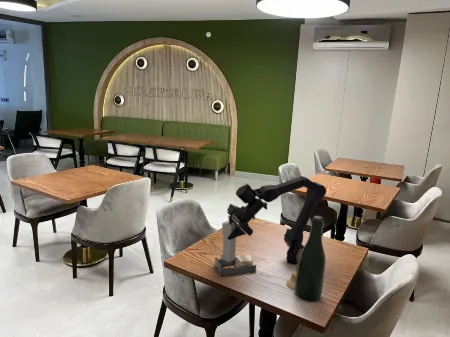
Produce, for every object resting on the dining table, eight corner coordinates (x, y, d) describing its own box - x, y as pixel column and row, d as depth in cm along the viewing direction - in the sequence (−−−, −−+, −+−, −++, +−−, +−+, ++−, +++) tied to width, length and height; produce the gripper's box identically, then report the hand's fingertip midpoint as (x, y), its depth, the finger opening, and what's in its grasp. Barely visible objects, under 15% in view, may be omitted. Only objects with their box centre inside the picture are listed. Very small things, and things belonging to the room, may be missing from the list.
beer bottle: (301, 283, 138) (311, 209, 130) (325, 294, 132) (337, 217, 124) (289, 294, 130) (298, 216, 122) (314, 307, 124) (325, 225, 116)
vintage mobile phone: (226, 256, 149) (228, 202, 144) (234, 259, 146) (237, 205, 141) (220, 258, 146) (222, 204, 141) (229, 262, 143) (232, 207, 138)
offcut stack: (247, 263, 154) (248, 254, 153) (253, 270, 148) (254, 260, 147) (235, 265, 152) (235, 255, 151) (240, 272, 146) (240, 262, 145)
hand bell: (302, 279, 142) (305, 244, 139) (310, 290, 134) (314, 254, 131) (283, 280, 141) (286, 245, 137) (290, 291, 133) (294, 254, 130)
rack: (248, 261, 155) (248, 253, 154) (255, 272, 147) (256, 263, 146) (214, 265, 150) (215, 257, 149) (220, 276, 142) (221, 268, 141)
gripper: (232, 191, 150) (207, 217, 149) (247, 205, 133) (219, 233, 132) (247, 207, 154) (223, 231, 153) (264, 222, 137) (237, 250, 136)
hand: (225, 236), depth 143 cm, fingers closed on vintage mobile phone, 6 cm apart
